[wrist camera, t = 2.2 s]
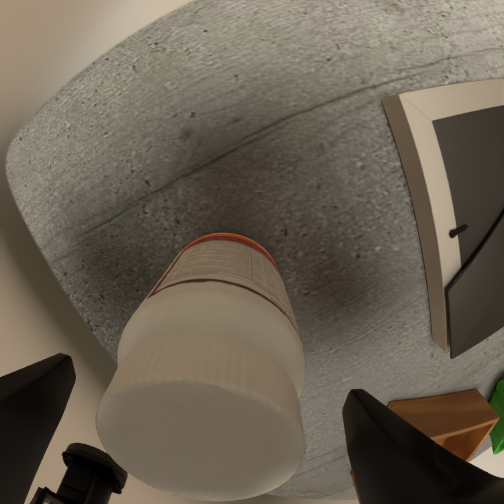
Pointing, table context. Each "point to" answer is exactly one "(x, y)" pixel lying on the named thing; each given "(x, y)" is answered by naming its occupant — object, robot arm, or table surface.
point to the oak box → (449, 420)
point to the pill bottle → (209, 377)
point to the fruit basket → (500, 402)
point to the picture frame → (457, 202)
